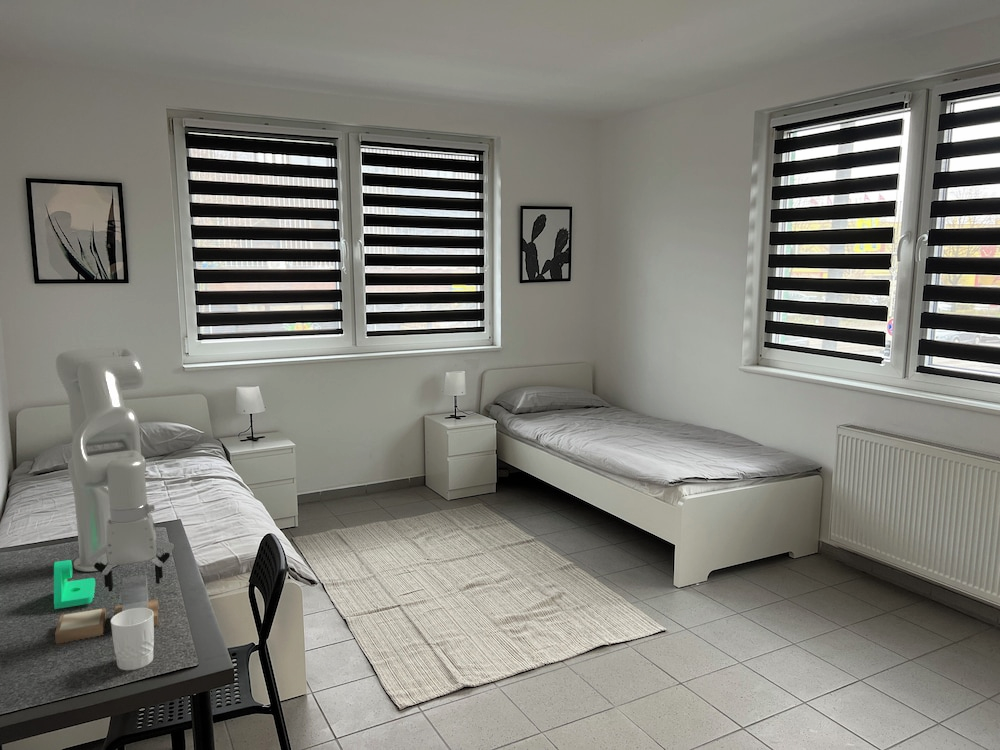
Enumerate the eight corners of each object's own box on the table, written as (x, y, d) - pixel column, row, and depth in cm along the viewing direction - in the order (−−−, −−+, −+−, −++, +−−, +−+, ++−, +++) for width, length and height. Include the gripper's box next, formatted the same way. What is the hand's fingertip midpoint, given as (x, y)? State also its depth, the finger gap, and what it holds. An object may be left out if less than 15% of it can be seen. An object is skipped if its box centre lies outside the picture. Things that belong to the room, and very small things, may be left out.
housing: (124, 606, 169) (122, 577, 167) (148, 602, 171) (146, 574, 170) (122, 619, 162) (120, 590, 161) (147, 615, 164) (145, 586, 163)
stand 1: (61, 625, 165) (60, 614, 164) (106, 617, 168) (105, 606, 168) (55, 644, 156) (54, 632, 156) (103, 635, 160) (102, 624, 160)
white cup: (128, 676, 145) (124, 630, 143) (106, 665, 149) (102, 619, 147) (164, 658, 151) (161, 613, 150) (142, 648, 155) (139, 604, 154)
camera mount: (91, 607, 174) (88, 566, 172) (54, 613, 170) (51, 572, 169) (96, 587, 184) (93, 548, 183) (61, 592, 181) (58, 553, 180)
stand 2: (116, 615, 169) (115, 605, 169) (158, 608, 173) (157, 598, 172) (113, 633, 161) (112, 623, 161) (158, 626, 165) (157, 615, 164)
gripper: (171, 503, 170) (176, 572, 172) (86, 513, 163) (93, 585, 165) (171, 512, 163) (176, 585, 165) (83, 523, 156) (89, 599, 158)
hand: (134, 585), depth 165 cm, fingers open, 9 cm apart
